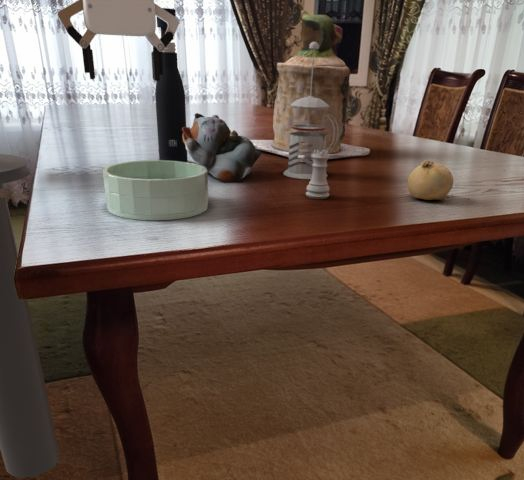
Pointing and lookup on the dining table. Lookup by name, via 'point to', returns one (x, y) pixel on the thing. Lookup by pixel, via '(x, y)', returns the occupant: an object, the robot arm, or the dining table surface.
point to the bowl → (156, 189)
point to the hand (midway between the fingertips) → (125, 79)
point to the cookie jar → (313, 90)
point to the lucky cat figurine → (219, 148)
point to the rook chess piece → (318, 176)
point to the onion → (430, 181)
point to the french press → (307, 135)
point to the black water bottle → (170, 104)
